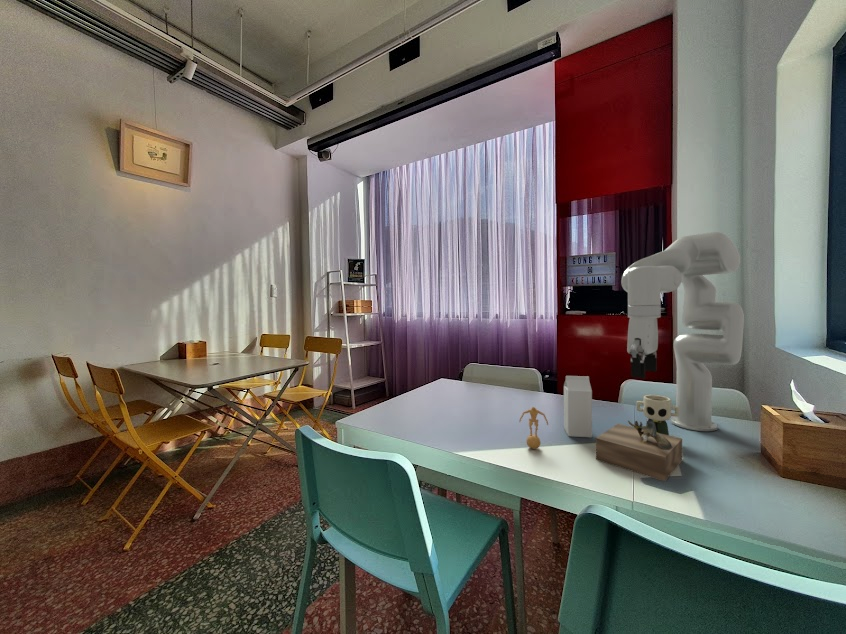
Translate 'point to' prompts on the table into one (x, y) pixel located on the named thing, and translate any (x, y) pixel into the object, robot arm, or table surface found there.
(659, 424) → the character mug
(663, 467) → the walnut block
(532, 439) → the figurine
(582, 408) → the milk carton
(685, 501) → the table surface
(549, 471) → the table surface
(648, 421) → the eagle figurine
